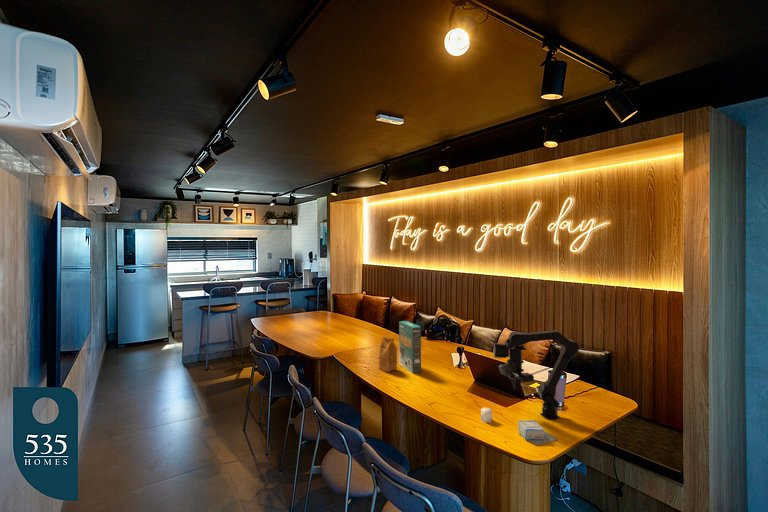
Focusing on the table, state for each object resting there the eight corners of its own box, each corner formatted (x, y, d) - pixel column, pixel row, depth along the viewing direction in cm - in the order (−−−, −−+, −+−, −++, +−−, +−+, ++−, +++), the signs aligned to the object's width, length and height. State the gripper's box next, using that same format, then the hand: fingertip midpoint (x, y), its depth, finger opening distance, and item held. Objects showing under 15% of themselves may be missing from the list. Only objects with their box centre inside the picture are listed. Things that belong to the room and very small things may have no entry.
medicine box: (535, 420, 163) (544, 429, 154) (535, 430, 163) (544, 440, 154) (517, 420, 163) (526, 429, 154) (518, 430, 163) (526, 440, 154)
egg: (487, 417, 176) (487, 406, 176) (494, 421, 172) (494, 411, 172) (478, 418, 174) (478, 408, 174) (485, 423, 170) (485, 412, 170)
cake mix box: (420, 372, 241) (420, 326, 240) (412, 373, 239) (412, 327, 238) (406, 362, 261) (406, 320, 261) (399, 363, 259) (399, 321, 259)
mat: (540, 429, 164) (540, 428, 164) (558, 440, 155) (558, 439, 155) (518, 434, 160) (518, 433, 160) (535, 445, 151) (535, 444, 151)
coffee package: (388, 365, 255) (388, 334, 255) (398, 370, 245) (398, 337, 244) (376, 367, 250) (376, 335, 250) (386, 373, 239) (386, 339, 239)
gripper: (489, 354, 184) (489, 385, 185) (515, 365, 167) (515, 399, 167) (507, 352, 189) (507, 382, 189) (534, 363, 171) (534, 396, 171)
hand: (515, 389), depth 179 cm, fingers closed
